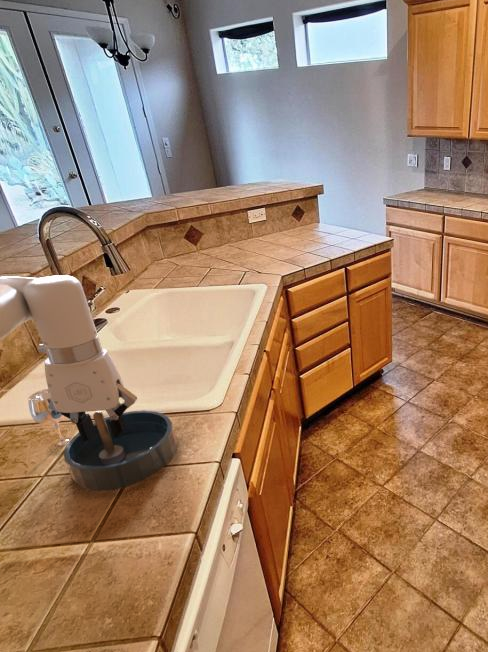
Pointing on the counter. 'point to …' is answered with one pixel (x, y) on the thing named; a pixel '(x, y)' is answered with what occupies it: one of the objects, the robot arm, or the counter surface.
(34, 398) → the wineglass
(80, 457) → the bowl
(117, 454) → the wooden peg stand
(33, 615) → the counter surface
